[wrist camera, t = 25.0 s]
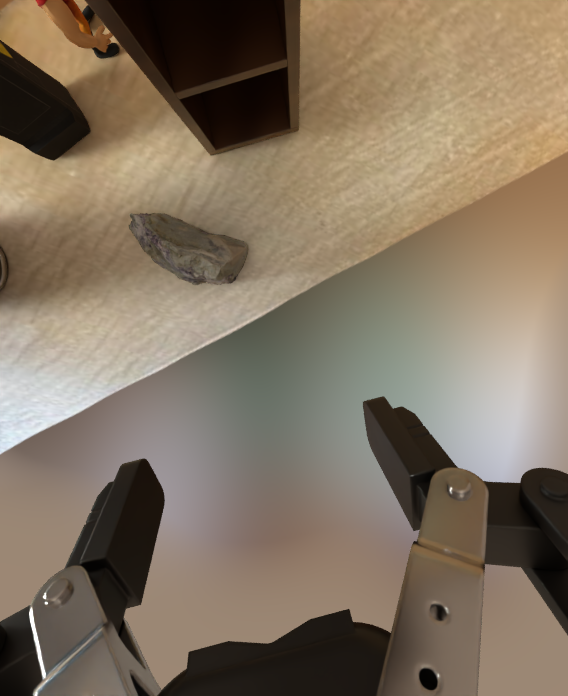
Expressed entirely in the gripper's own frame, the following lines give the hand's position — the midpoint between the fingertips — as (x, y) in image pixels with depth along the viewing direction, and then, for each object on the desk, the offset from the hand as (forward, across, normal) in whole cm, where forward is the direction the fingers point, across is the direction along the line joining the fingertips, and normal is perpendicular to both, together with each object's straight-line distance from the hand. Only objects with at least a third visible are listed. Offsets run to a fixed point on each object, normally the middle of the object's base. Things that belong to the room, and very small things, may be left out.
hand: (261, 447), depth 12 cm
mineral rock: (+37, -5, +3) cm, 37 cm away
